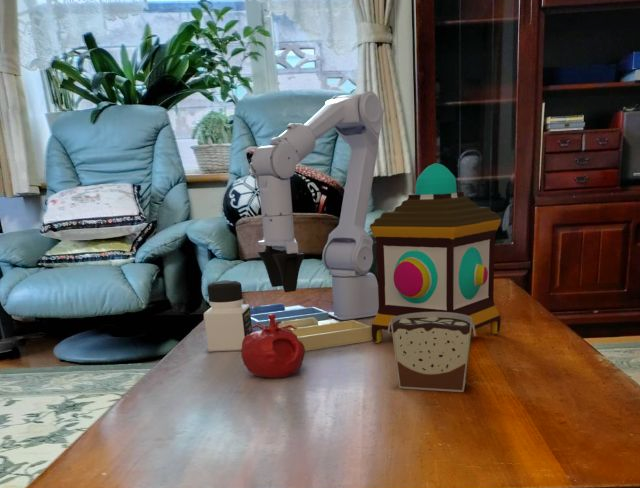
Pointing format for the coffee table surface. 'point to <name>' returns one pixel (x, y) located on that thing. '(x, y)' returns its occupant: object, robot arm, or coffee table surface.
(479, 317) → the decorative lantern
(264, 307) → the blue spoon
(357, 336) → the cream bin
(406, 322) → the food container
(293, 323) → the pale yellow bar
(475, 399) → the coffee table surface
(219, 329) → the medicine bottle
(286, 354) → the pomegranate
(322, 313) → the blue bin
